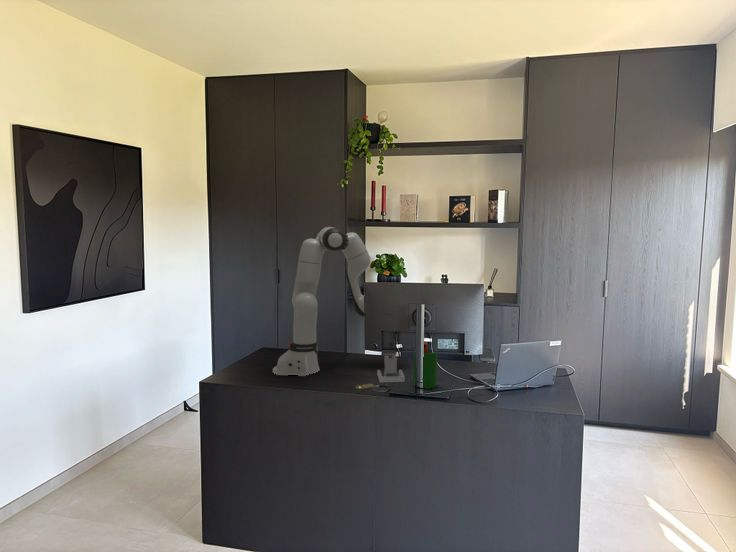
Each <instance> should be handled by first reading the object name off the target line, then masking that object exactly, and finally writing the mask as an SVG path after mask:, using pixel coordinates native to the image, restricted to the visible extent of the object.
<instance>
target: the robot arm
mask: <svg viewBox="0 0 736 552" xmlns="http://www.w3.org/2000/svg"><path fill="white" fill-rule="evenodd" d="M326 251H330V252H338V251H341V252H342V253H343V255H344V258H345V259H346V260H345V261H346V263H347V269H346V270H345V275H346V276H345V277H346V280H347V285H348V288H349V292H350V295H351V298H352V305H353V309H354V312H355V314H357V315H358V316H360V317H366V316H365V312H364V296H365V295H363V294H362V292H361V288H360V283H359V280H358V279H359V277H360V276H361V275H362V274H363V273H364V272H365V271H366V270H367V269H368V268H369V266H370V264H371V258H370V257H371V256H370V254H369V251H368V249H367V247H366V245H365V243H364V241H363V240H362V239H361V237H360V236H359V234H357V232H347V233H345V232H344V231H342V230H341V229H339V228H336V227H334V226H324V227H322V228H321V229H319V231H318V232H317V233H316V235H315V236H314V237H313V238H307V239H305V240H304V241H303V242H302V244H301V247H300V250H299V254H298V255H299V256H298V261H297V262H298V263H297V269H296V276H295V280H294V286H293V291H292V297H291V303H292V305H293V322H292V323H293V324H292V338H293V339H292V340H289V341H288V350H287V351H286V352H284V353H283V354H281V355H280V356H279V358H278V359H277V364H276V365H275V366H274V367H272V374H273V373H274V374H273V375H275V374H276V375H275V376H288V375H298V376H297V377H307V376H309V374H310V375H313V373H314V374H317V373H319V372H320V370H321V369H320V366H319V359H318V351H319V349H318V348H319V347H318V341H317V322H318V321H317V320H318V310H319V309H318V308H319V307H318V306H319V303H318V299H317V296H316V295H317V289H318V286H319V283H320V278H321V270H322V264H323V257H324V253H325V252H326ZM318 371H319V372H318ZM316 372H317V373H316ZM306 375H307V376H306Z"/></svg>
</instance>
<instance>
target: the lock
mask: <svg viewBox="0 0 736 552" xmlns="http://www.w3.org/2000/svg"><path fill="white" fill-rule="evenodd" d="M383 360H384V369H383V370H384V371H383V372H384V373H383V376H398V375H397V374H398V373H397V369H398V367H397V366H398V364H397V363H398V362H397V361H398V359H397V356H396V354H395V355H393V353H389V354H388V355H384V359H383Z"/></svg>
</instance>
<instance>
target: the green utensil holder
mask: <svg viewBox="0 0 736 552" xmlns="http://www.w3.org/2000/svg"><path fill="white" fill-rule="evenodd" d="M428 345H429V344H428V342H424V357H423V388H425V389H424V390H431V389H430V388H433V389H436V388H437V387H438V386H437V384H438V353H439V351H438V350H435V351H434V352H430V351H429V350H428V349H429V347H428ZM428 351H429V352H428ZM413 356H414V357H413V358H414V360H413V386H414V387H415V383H416V349H414V355H413ZM436 386H437V387H436ZM435 387H436V388H435Z"/></svg>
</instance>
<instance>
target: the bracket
mask: <svg viewBox="0 0 736 552" xmlns="http://www.w3.org/2000/svg"><path fill="white" fill-rule="evenodd" d="M376 373H377V374H376V375H377V379H378V382H379V383H381V384H382V383H405V381H406V379H405V378H406V376H405V374H404V372H403V370H402V369H398V375H397V376H384V375H382V372H381V370H380V369H377V372H376Z"/></svg>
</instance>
